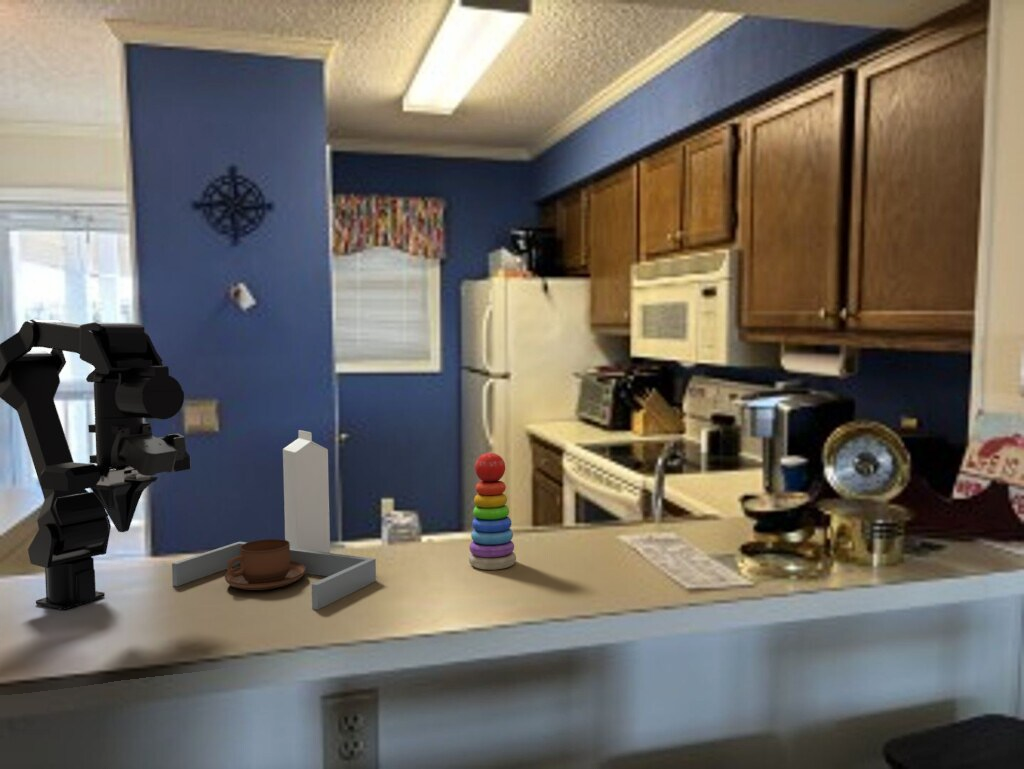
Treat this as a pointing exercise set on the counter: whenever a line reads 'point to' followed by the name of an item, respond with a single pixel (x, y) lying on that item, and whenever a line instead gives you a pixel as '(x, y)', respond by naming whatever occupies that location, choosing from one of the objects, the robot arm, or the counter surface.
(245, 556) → the cup and saucer
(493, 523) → the stacking toy
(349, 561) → the u-shaped low fence
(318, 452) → the milk
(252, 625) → the counter surface
